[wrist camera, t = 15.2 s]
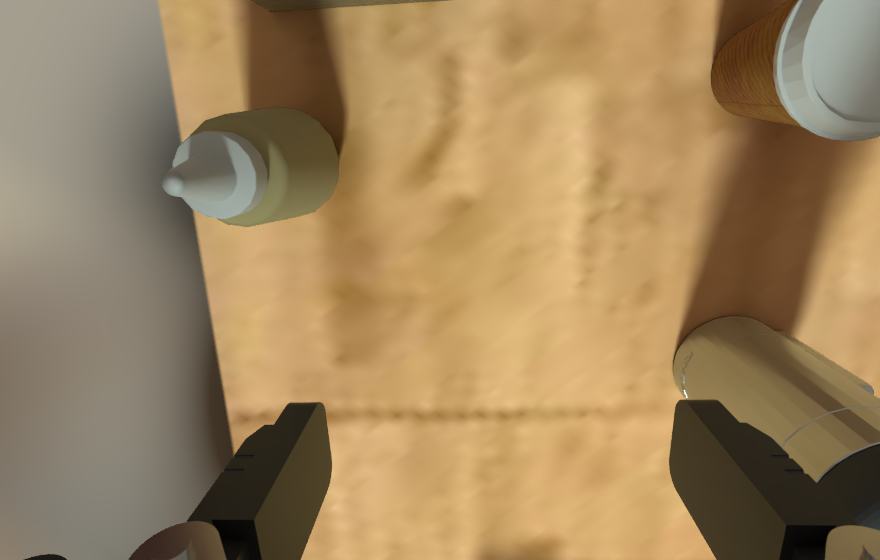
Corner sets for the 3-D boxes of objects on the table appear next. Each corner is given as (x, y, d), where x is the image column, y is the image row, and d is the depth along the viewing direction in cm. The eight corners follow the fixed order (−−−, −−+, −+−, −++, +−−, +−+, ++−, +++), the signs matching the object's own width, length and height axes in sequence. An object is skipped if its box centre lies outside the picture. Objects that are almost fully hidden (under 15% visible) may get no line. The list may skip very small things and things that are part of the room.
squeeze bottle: (244, 113, 38) (64, 98, 21) (343, 104, 38) (240, 80, 20) (264, 213, 41) (115, 273, 23) (357, 206, 40) (274, 262, 23)
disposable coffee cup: (818, -19, 33) (1002, -98, 22) (825, 118, 36) (992, 112, 25) (680, 23, 35) (785, -31, 23) (696, 153, 37) (798, 162, 26)
